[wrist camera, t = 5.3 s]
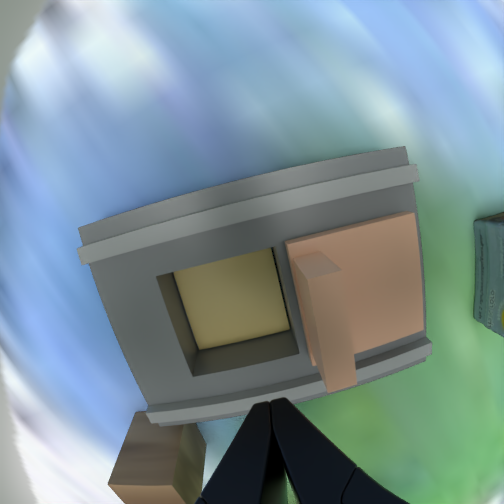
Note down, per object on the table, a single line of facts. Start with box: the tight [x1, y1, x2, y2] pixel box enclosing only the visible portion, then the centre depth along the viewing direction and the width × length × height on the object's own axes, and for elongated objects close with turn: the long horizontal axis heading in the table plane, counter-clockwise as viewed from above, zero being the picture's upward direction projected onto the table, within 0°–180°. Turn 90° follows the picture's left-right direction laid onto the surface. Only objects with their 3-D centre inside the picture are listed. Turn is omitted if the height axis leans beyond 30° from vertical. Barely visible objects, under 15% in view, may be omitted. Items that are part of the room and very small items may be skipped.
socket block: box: [77, 146, 432, 427], centre depth 16 cm, size 12×16×4 cm
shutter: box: [284, 211, 424, 393], centre depth 13 cm, size 6×6×4 cm
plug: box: [108, 411, 206, 504], centre depth 16 cm, size 4×4×7 cm
